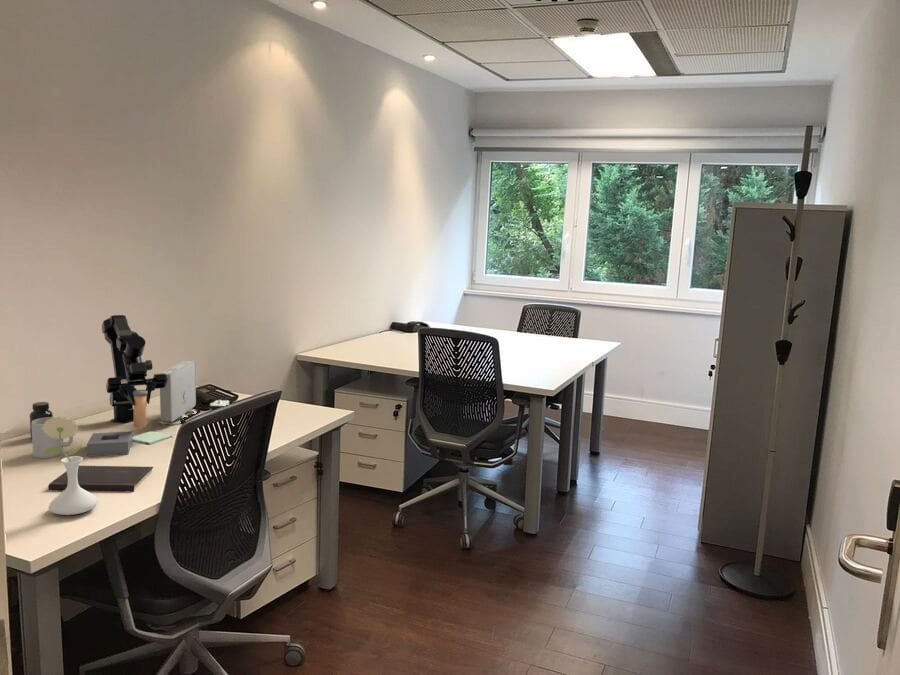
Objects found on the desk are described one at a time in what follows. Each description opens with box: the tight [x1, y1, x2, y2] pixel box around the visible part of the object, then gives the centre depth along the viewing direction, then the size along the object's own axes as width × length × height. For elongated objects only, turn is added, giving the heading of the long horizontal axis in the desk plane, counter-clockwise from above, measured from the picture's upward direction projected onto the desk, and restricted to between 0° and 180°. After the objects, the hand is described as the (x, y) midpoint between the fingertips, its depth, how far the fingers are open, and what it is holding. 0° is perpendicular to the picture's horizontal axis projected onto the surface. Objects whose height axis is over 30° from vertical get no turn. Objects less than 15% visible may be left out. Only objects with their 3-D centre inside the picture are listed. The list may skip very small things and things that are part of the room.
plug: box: [133, 389, 148, 429], centre depth 244 cm, size 5×5×12 cm
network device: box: [159, 360, 198, 426], centre depth 275 cm, size 26×9×20 cm, turn 179°
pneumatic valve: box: [208, 399, 230, 411], centre depth 259 cm, size 6×12×12 cm, turn 3°
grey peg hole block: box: [86, 431, 134, 457], centre depth 236 cm, size 12×12×4 cm
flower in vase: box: [42, 416, 99, 516], centre depth 186 cm, size 13×11×25 cm
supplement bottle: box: [29, 401, 54, 440], centre depth 245 cm, size 7×7×12 cm
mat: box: [133, 430, 173, 445], centre depth 250 cm, size 10×10×1 cm
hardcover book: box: [48, 465, 154, 493], centre depth 209 cm, size 16×23×2 cm
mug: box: [31, 416, 74, 459], centre depth 229 cm, size 12×8×11 cm
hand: (141, 404), depth 243 cm, fingers closed on plug, 4 cm apart
